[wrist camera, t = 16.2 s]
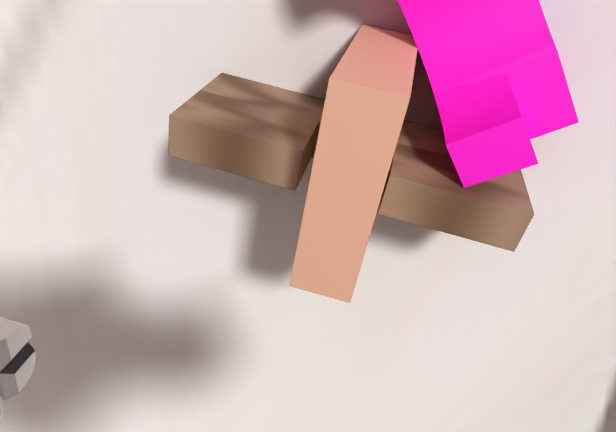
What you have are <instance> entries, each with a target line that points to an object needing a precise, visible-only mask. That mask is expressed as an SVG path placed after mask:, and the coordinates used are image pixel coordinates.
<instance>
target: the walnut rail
mask: <svg viewBox="0 0 616 432" xmlns="http://www.w3.org/2000/svg"><path fill="white" fill-rule="evenodd" d="M324 103H325V100H324V99H320V98H316V97H312V96H308V95H305V94H301V93H297V92H293V91H289V90H286V89H282V88H278V87H274V86H270V85H266V84H263V83H259V82H255V81H251V80H247V79H244V78H240V77H236V76H232V75H228V74H224V73H221V74H220V75H219V76H217V77H216V78H215V79H214V80H212V81H211V82H210V83H209V84H207V85H206V86H205V87H204V88H202V89H201V90H200V91H199V92H198V93H196V94H195V95H194V96H193V97H191V98H190V99H189V100H188V101H186V102H185V103H184V104H183V105H181V106H180V107H179V108H178V109H176V110H175V111H174V112H173V113H172V114H170V115H169V146H168V155H169V156H172V157H176V158H179V159H183V160H187V161H190V162H194V163H197V164H201V165H205V166H208V167H212V168H215V169H219V170H223V171H226V172H230V173H233V174H237V175H241V176H244V177H248V178H251V179H255V180H258V181H262V182H266V183H269V184H273V185H276V186H280V187H284V188H287V189H291V190H294V191H295V190H296V188H297V186H298V184H299V182H300V180H301V178H302V175H303V173H304V171H305V169H306V167H307V165H308V163H309V161H310V159H311V158H314V155H315V150H316V145H317V140H318V134H319V129H320V124H321V119H322V113H323V108H324ZM378 214H381V215H384V216H388V217H391V218H395V219H399V220H402V221H406V222H409V223H413V224H416V225H420V226H424V227H427V228H431V229H434V230H438V231H442V232H445V233H449V234H452V235H456V236H460V237H463V238H467V239H470V240H474V241H478V242H481V243H485V244H488V245H492V246H495V247H499V248H503V249H506V250H510V251H513V252H514V251H515V249H516V247H517V245H518V243H519V242H520V240H521V238H522V236H523V234H524V232H525V230H526V229H527V227H528V225H529V223H530V221H531V219H532V218H533V216H534V212H533V209H532V205H531V202H530V199H529V195H528V192H527V189H526V185H525V182H524V179H523V175H522V172H521V169H520V170H517V171H514V172H511V173H508V174H505V175H502V176H499V177H496V178H493V179H490V180H487V181H484V182H481V183H478V184H475V185H472V186H469V187H466V188H464V187H463V184H462V182H461V180H460V177H459V175H458V173H457V170H456V168H455V166H454V163H453V161H452V159H451V156H450V154H449V152H448V149H447V147H446V143H445V136H444V131H442V130H438V129H434V128H431V127H427V126H423V125H419V124H415V123H411V122H408V121H403V124H402V128H401V131H400V135H399V138H398V141H397V145H396V148H395V152H394V155H393V158H392V162H391V165H390V169H389V172H388V176H387V179H386V182H385V186H384V189H383V193H382V196H381V201H380V206H379V211H378Z"/></svg>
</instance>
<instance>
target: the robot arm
mask: <svg viewBox="0 0 616 432" xmlns="http://www.w3.org/2000/svg"><path fill="white" fill-rule="evenodd" d="M31 338H32V333H31V329H30V326H28V325H25V324H22V323H19V322H15V321H12V320H9V319H6V318H3V317H0V415H1V414H2V413H3V412H4V405H5V399H7V398H9V397H11V396H13V395H16V394H18V393H19V392H20V391H21V390H22V389H23V387H24V386H25V385H26V384H27V382H28V381H29V379H30V377H31V375H32V373H33V371H34V369H35V364H36V353H35V350H34V349H33V347H32V346H31V345H30V344H29V343H28V341H29V340H30V339H31Z"/></svg>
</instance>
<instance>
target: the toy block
mask: <svg viewBox="0 0 616 432" xmlns="http://www.w3.org/2000/svg"><path fill="white" fill-rule="evenodd" d="M397 1H398V3H399V5H400V7H401V9H402V12H403V14H404V16H405V18H406V21H407V23H408V25H409V28H410V30H411V33H412V35H413V37H414V40H415V42H416V45H417V48H418V50H419V53H420V55H421V58H422V61H423V64H424V66H425V69H426V72H427V75H428V78H429V81H430V84H431V87H432V90H433V93H434V96H435V100H436V103H437V107H438V110H439V114H440V118H441V122H442V126H443V131H444V136H445V143H446V147H447V149H448V152H449V154H450V156H451V159H452V161H453V163H454V166H455V168H456V170H457V173H458V175H459V177H460V180H461V182H462V184H463V187H464V188H466V187H469V186H472V185H475V184H478V183H481V182H484V181H487V180H490V179H493V178H496V177H499V176H502V175H505V174H508V173H511V172H514V171H517V170H520V169H523V168H526V167H529V166H532V165H535V164H538V162H537V159H536V156H535V153H534V150H533V147H532V144H531V141H530V139H532V138H535V137H538V136H541V135H544V134H547V133H550V132H552V131H555V130H558V129H561V128H564V127H567V126H569V125H572V124H575V123H578V118H577V115H576V112H575V108H574V105H573V102H572V98H571V95H570V92H569V88H568V85H567V82H566V78H565V75H564V72H563V68H562V65H561V62H560V58H559V55H558V52H557V49H556V47H555V44H554V42H553V39H552V36H551V34H550V31H549V28H548V26H547V23H546V20H545V17H544V14H543V12H542V9H541V6H540V3H539V0H397Z"/></svg>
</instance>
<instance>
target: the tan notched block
mask: <svg viewBox="0 0 616 432" xmlns="http://www.w3.org/2000/svg"><path fill="white" fill-rule="evenodd" d="M417 49H418V48H417V45H416V42H415V40H414V37H413V35H408V34H404V33H399V32H395V31H391V30H386V29H382V28H377V27H373V26H368V25H364V24H362V26H361V27H360V29H359V31H358V32H357V34H356V36H355V37H354V39H353V40H352V42H351V44H350V45H349V47H348V49H347V50H346V52H345V53H344V55H343V57H342V58H341V60H340V62H339V63H338V65H337V67H336V68H335V70H334V71H333V73H332V75H331V76H330V78H329V82H328V87H327V93H326V98H325V103H324V108H323V113H322V119H321V124H320V129H319V134H318V140H317V145H316V150H315V155H314V160H313V166H312V171H311V176H310V181H309V186H308V192H307V197H306V202H305V207H304V212H303V218H302V223H301V228H300V233H299V239H298V244H297V249H296V254H295V259H294V265H293V270H292V275H291V280H290V285H289V286H291V287H295V288H298V289H302V290H306V291H309V292H313V293H316V294H320V295H324V296H327V297H331V298H334V299H338V300H341V301H345V302H349V303H350V302H351V298H352V295H353V292H354V288H355V285H356V281H357V278H358V275H359V271H360V268H361V264H362V261H363V257H364V254H365V251H366V247H367V244H368V240H369V237H370V234H371V230H372V227H373V223H374V220H375V217H376V213H377V210H378V206H379V203H380V199H381V196H382V193H383V189H384V186H385V182H386V179H387V176H388V172H389V169H390V165H391V162H392V158H393V155H394V152H395V148H396V145H397V141H398V138H399V135H400V131H401V128H402V124H403V121H404V117H405V114H406V111H407V107H408V104H409V100H410V96H411V90H412V83H413V76H414V70H415V63H416V56H417Z"/></svg>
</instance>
